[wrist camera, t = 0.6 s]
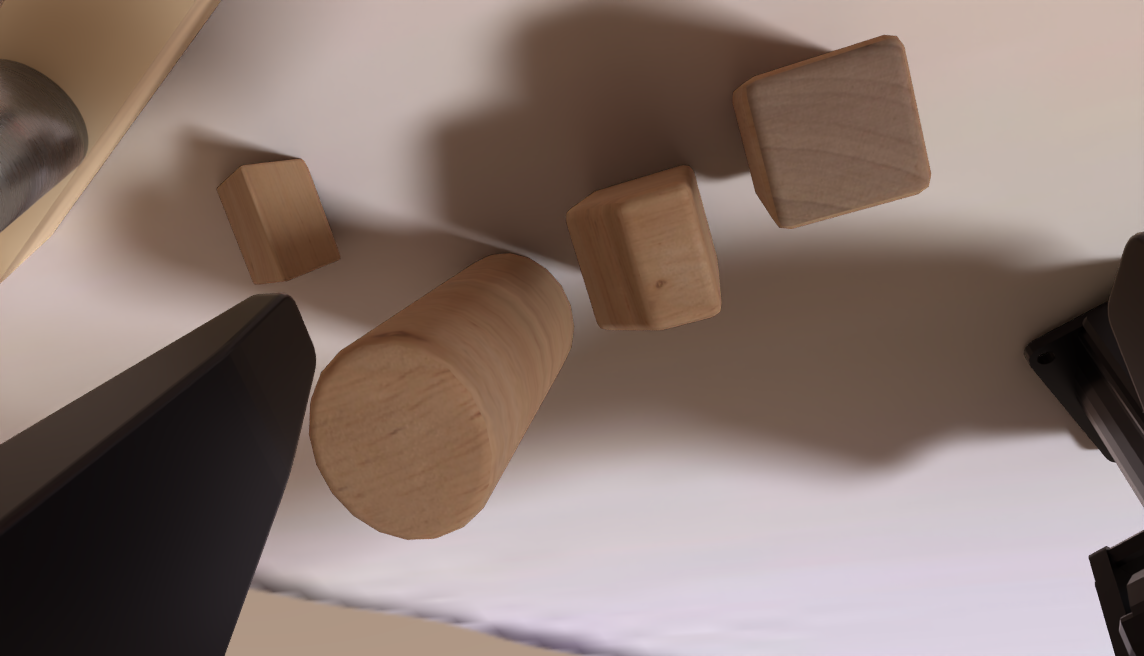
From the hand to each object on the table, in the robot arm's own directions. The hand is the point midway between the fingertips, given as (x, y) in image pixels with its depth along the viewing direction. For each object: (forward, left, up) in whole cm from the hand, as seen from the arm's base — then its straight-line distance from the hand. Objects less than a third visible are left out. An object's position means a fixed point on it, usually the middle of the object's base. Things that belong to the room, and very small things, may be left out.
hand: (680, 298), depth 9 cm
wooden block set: (-3, +7, -14) cm, 16 cm away
